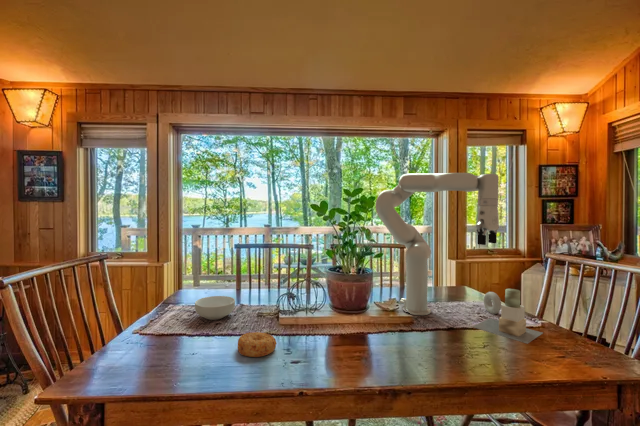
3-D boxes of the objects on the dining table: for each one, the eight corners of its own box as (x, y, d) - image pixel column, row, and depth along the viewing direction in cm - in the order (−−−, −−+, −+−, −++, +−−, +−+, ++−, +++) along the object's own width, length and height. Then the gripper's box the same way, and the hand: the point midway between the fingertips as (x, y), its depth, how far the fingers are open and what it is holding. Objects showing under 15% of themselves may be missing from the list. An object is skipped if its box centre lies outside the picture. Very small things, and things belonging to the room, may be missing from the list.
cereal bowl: (228, 324, 132) (228, 307, 132) (188, 323, 133) (188, 306, 132) (239, 310, 149) (239, 295, 149) (203, 310, 150) (203, 295, 149)
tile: (471, 328, 130) (471, 326, 130) (489, 319, 140) (489, 318, 140) (527, 345, 114) (527, 343, 114) (543, 334, 124) (543, 332, 124)
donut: (502, 317, 143) (503, 294, 143) (495, 317, 142) (496, 295, 142) (488, 310, 153) (488, 289, 153) (481, 310, 152) (482, 289, 152)
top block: (501, 318, 126) (501, 305, 126) (507, 314, 129) (507, 302, 129) (518, 322, 121) (518, 309, 121) (524, 319, 125) (524, 306, 125)
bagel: (253, 363, 100) (253, 347, 100) (228, 350, 109) (228, 336, 109) (284, 349, 110) (284, 335, 109) (258, 338, 118) (259, 325, 118)
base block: (498, 330, 126) (499, 317, 126) (506, 326, 130) (506, 314, 130) (518, 336, 120) (518, 323, 120) (525, 331, 125) (526, 319, 125)
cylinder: (502, 305, 126) (503, 290, 125) (508, 303, 129) (508, 288, 129) (517, 308, 122) (517, 292, 122) (522, 306, 125) (522, 290, 125)
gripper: (487, 203, 128) (486, 246, 128) (506, 203, 138) (505, 243, 139) (468, 203, 134) (468, 244, 134) (488, 203, 144) (487, 241, 145)
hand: (487, 243), depth 136 cm, fingers open, 9 cm apart
